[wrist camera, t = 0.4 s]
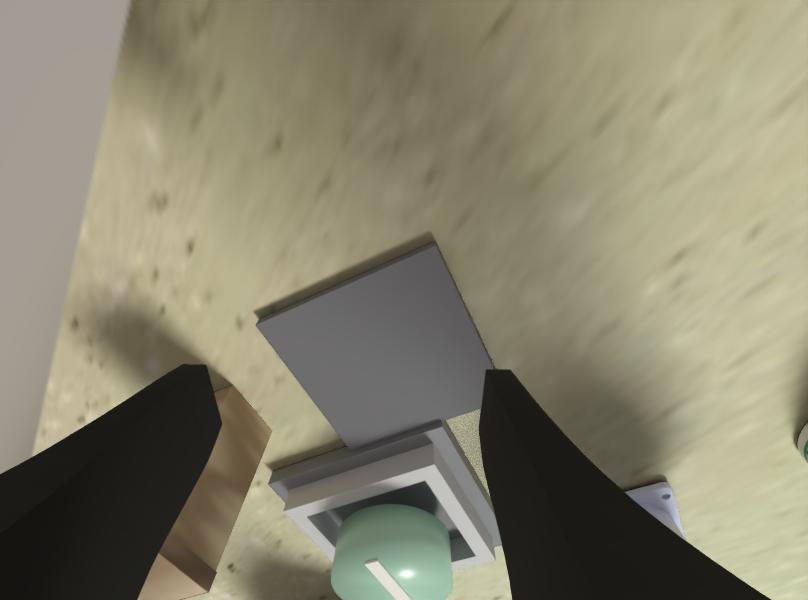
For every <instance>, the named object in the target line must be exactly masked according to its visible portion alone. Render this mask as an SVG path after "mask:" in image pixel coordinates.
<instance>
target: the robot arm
mask: <svg viewBox="0 0 808 600" xmlns="http://www.w3.org/2000/svg"><path fill="white" fill-rule="evenodd" d="M221 427H222V420H221V416H220V413H219V409H218V406H217V402H216V398H215V395H214V391H213V387H212V384H211V380H210V377H209V373H208V369H207V366H206V365H189V364H183V365H181V366H179V367H178V368H176V369H174V370H172V371H171V372H169V373H167V374H166V375H164V376H163V377H161V378H159V379H158V380H156V381H155V382H153V383H152V384H150V385H149V386H147V387H145V388H144V389H142V390H141V391H139V392H138V393H136V394H135V395H133V396H132V397H130V398H129V399H127V400H125V401H124V402H122V403H121V404H119V405H118V406H116V407H115V408H113V409H112V410H110V411H108V412H107V413H105V414H104V415H102V416H101V417H99V418H97V419H96V420H94V421H92V422H91V423H89V424H88V425H86V426H84V427H83V428H81V429H79V430H78V431H76V432H74V433H73V434H71V435H69V436H68V437H66V438H64V439H63V440H61V441H59V442H58V443H56V444H54V445H53V446H51V447H49V448H48V449H46V450H44V451H42V452H41V453H39V454H37V455H35V456H33V457H32V458H30V459H28V460H26V461H24V462H23V463H21V464H19V465H17V466H15V467H13V468H11V469H9V470H7V471H6V472H4V473H2V474H0V600H137V599H138V597H139V595H140V592H141V590H142V588H143V586H144V583H145V581H146V579H147V576H148V574H149V572H150V569H151V567H152V565H153V563H154V561H155V559H156V557H157V555H158V553H159V551H160V549H161V547H162V545H163V544H164V542H165V540H166V538H167V536H168V534H169V533H170V531H171V529H172V527H173V525H174V524H175V522H176V520H177V518H178V516H179V514H180V513H181V511H182V509H183V507H184V505H185V503H186V502H187V500H188V498H189V496H190V494H191V492H192V491H193V489H194V487H195V485H196V483H197V481H198V479H199V478H200V476H201V474H202V472H203V470H204V468H205V466H206V464H207V462H208V460H209V458H210V456H211V453H212V451H213V448H214V446H215V443H216V440H217V438H218V435H219V432H220V429H221ZM479 436H480V444H481V453H482V460H483V467H484V472H485V476H486V480H487V484H488V489H489V493H490V497H491V501H492V505H493V509H494V514H495V518H496V522H497V526H498V530H499V534H500V538H501V543H502V547H503V551H504V555H505V560H506V565H507V570H508V575H509V580H510V587H511V594H512V600H771V599H769V598H768V597H766V596H765V595H763V594H761V593H760V592H758V591H757V590H755V589H754V588H752V587H751V586H749V585H748V584H746V583H745V582H744V581H742V580H741V579H739V578H738V577H736V576H735V575H733V574H732V573H730V572H729V571H727V570H726V569H725V568H723V567H722V566H720V565H719V564H717V563H716V562H714V561H713V560H711V559H710V558H709V557H707V556H706V555H705V554H703V553H702V552H700V551H699V550H698V549H696V548H695V547H693V546H692V545H691V544H689V543H688V542H687V541H686V538H685V534H684V531H683V527H682V523H681V519H680V516H679V512H678V508H677V504H676V501H675V497H674V493H673V489H672V488H671V486H670V485H669V484H668V483H666V482H660V483H656V484H653V485H649V486H645V487H641V488H638V489H634V490H630V491H626V492H624V491H623V490H622V489H621V488H619V487H618V486H617V485H616V484H615V483H614V482H613V481H611V480H610V479H609V478H608V477H607V476H606V475H605V474H604V473H603V472H601V471H600V470H599V469H598V468H597V467H596V466H595V465H594V464H593V463H592V462H591V461H590V460H589V459H588V458H587V457H586V456H585V455H584V454H583V453H582V452H581V451H580V450H579V449H578V448H577V447H576V446H575V445H574V444H573V443H572V442H571V441H570V439H569V438H568V437H567V436H566V435H565V434H564V433H563V432H562V431H561V430H560V429H559V427H558V426H557V425H556V424H555V423H554V422H553V421H552V420H551V418H550V417H549V416H548V415H547V414H546V413H545V412H544V410H543V409H542V408H541V407H540V406H539V404H538V403H537V402H536V401H535V400H534V398H533V397H532V396H531V395H530V394H529V392H528V391H527V390H526V389H525V387H524V386H523V385H522V384H521V382H520V381H519V380H518V379H517V377H516V376H515V375H514V374H513V372H512V371H511V370H496V369H486V372H485V381H484V389H483V397H482V405H481V414H480V422H479Z"/></svg>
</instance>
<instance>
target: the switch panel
mask: <svg viewBox="0 0 808 600" xmlns="http://www.w3.org/2000/svg"><path fill="white" fill-rule="evenodd" d="M268 485H269V486H270V487H271V488H272V489H273V490H274V491H275V492H276V493H277V494H278V495H279V497H280V498H281V499H282V500H283V501H284V502H285V503H286V505H285V508H284V511H283V512H284V513H285V514H286V515H287V516H288V517H289V518H290V519H291V520H292V521H293V522H294V523H295V524H296V525H297V526H298V527H299V528H300V529H301V530H302V531H303V532H304V534H305V535H306V536H307V537H308V538H309V539H310V540H311V541H312V542H313V543H314V544H315V545H316V546H317V547H318V548H319V549H320V550H321V551H322V552H323V553H324V554H325V556H326V557H327V558H328V559H329V560H330V561H331V562H332V563H333V560H334V555H335V549H336V543H337V537H338V531H339V528H340V526H341V525H342V523H343V522H344V521H345V519H347V518H348V517H349V516H350V515H352V514H353V513H355V512H357V511H359V510H361V509H364V508H367V507H371V506H375V505H382V504H400V505H407V506H412V507H416V508H419V509H422V510H424V511H427V512H429V513H430V514H432V515H434V516H435V517H437V518H438V519H439V520H440V521H441V522H442V523H443V524H444V525H445V527H446V528H447V530H448V533H449V538H450V550H451V562H452V572H453V571H457V570H461V569H465V568H469V567H473V566H477V565H482V564H486V563H490V562H494V561H496V557H495V551H494V547H496V546H500V545H502V543H501V538H500V534H499V530H498V526H497V522H496V518H495V514H494V509H493V505H492V501H491V499H490V497H489V495H488V494H487V492H486V490H485V488H484V487H483V485H482V483H481V481H480V480H479V478H478V476H477V475H476V473H475V471H474V469H473V468H472V466H471V464H470V463H469V461H468V459H467V457H466V456H465V454H464V452H463V451H462V449H461V447H460V445H459V444H458V442H457V440H456V438H455V437H454V435H453V433H452V432H451V430H450V428H449V426H448V425H447V423H446V421H445V420H444V421H441V422H438V423H435V424H432V425H430V426H427V427H424V428H421V429H418V430H415V431H412V432H409V433H406V434H403V435H400V436H397V437H394V438H391V439H388V440H385V441H382V442H379V443H376V444H373V445H370V446H367V447H364V448H361V449H358V450H355V451H352V452H351V451H350V449H349V448H348V447H347V446H345V447H343V448H340V449H337V450H334V451H331V452H328V453H325V454H322V455H319V456H316V457H313V458H310V459H307V460H304V461H301V462H298V463H296V464H293V465H290V466H287V467H284V468H281V469H278V470H275V471H273V472H272V475H271V478H270V481H269V483H268Z"/></svg>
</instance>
